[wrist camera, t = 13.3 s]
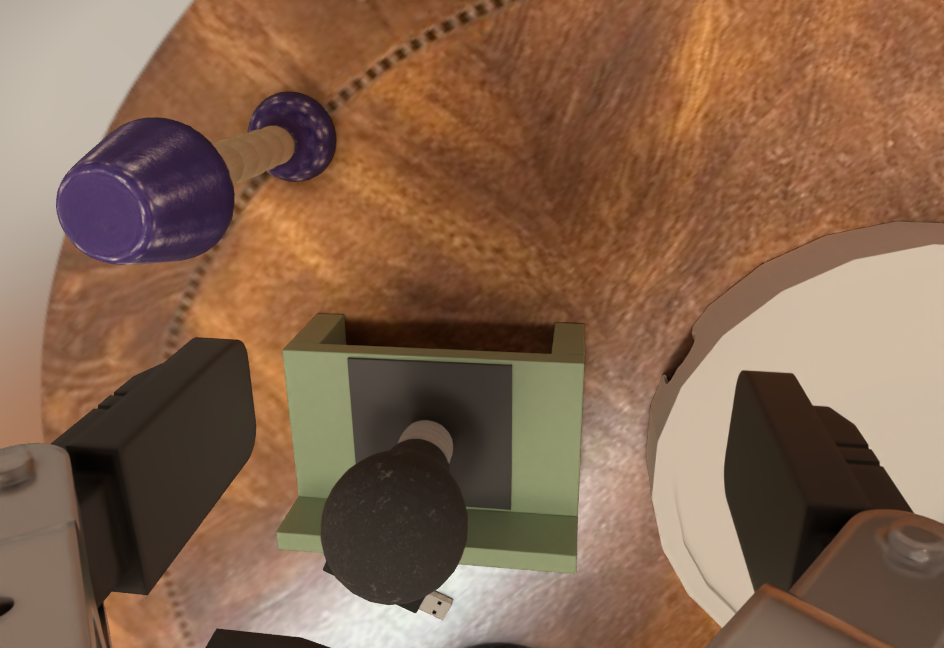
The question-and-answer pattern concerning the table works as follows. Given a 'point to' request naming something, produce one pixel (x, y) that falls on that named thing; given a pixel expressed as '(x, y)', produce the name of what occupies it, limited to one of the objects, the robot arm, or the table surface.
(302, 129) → the toy lamp
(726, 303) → the beige round base
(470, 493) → the bench
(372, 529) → the light bulb
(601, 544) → the table surface
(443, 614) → the usb flash drive
